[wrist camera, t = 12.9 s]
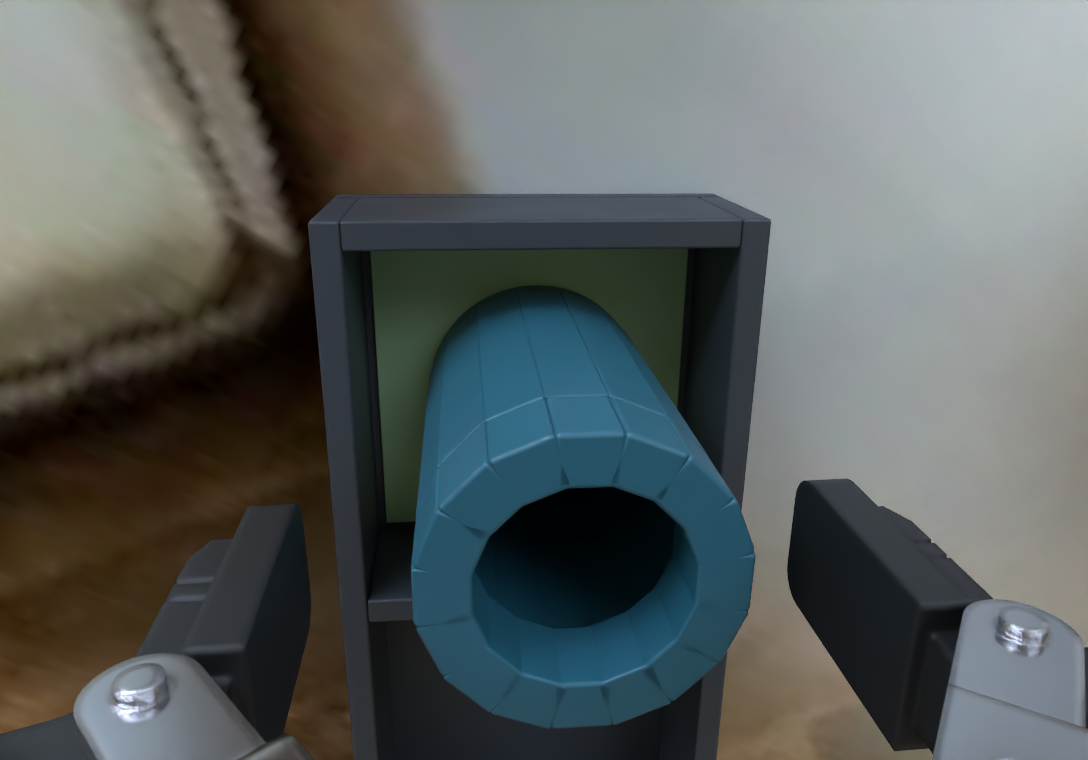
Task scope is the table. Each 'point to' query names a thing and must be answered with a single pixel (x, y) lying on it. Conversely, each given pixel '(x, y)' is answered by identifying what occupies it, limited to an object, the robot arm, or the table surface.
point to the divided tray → (401, 398)
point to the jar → (568, 521)
